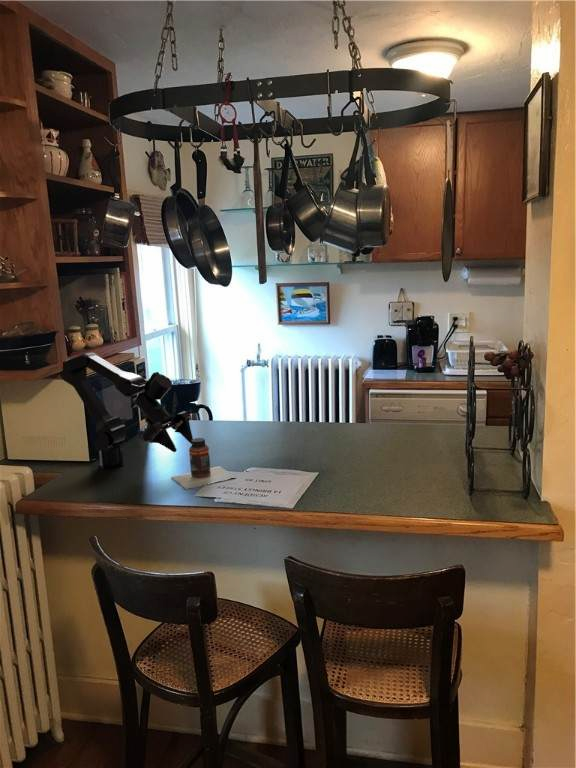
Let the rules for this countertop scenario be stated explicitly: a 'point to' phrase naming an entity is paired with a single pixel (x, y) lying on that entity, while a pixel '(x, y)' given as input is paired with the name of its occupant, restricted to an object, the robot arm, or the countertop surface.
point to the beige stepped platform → (192, 482)
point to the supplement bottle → (199, 458)
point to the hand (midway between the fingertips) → (184, 447)
